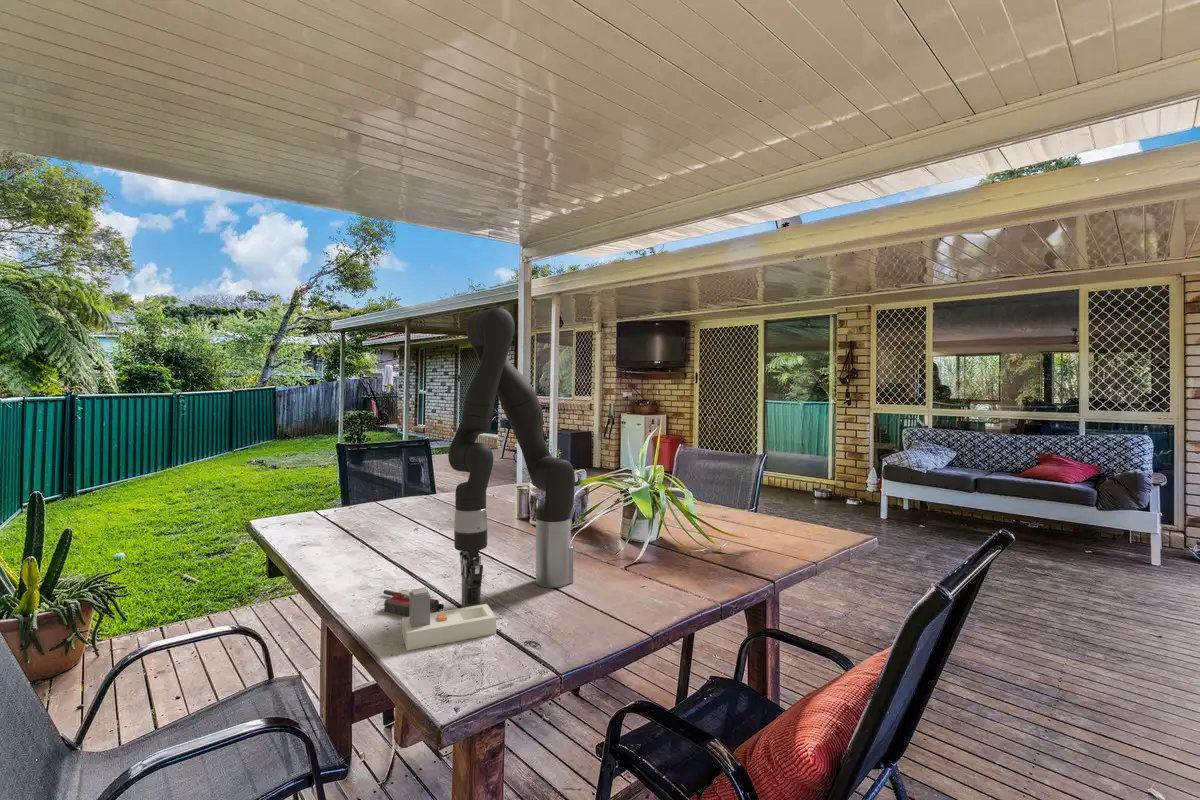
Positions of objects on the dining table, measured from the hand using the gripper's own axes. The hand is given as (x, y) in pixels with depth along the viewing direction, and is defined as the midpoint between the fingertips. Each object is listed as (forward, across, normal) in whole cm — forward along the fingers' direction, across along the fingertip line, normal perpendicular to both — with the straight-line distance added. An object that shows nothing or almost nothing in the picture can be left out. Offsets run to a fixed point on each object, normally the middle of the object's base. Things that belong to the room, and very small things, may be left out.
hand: (470, 600), depth 130 cm
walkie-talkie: (+3, +8, +14) cm, 16 cm away
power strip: (+2, -11, +7) cm, 13 cm away
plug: (+2, 0, 0) cm, 2 cm away
